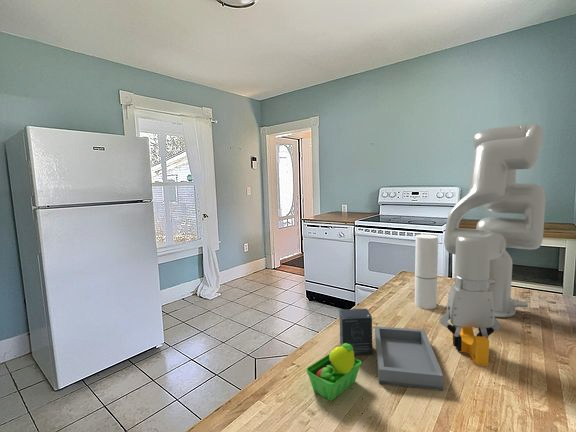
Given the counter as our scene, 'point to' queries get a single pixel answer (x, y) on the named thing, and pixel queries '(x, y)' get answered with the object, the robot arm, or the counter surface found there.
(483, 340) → the orange toy block
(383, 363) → the tray
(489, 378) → the counter surface
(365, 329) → the box
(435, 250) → the cylindrical container
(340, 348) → the fruit basket
